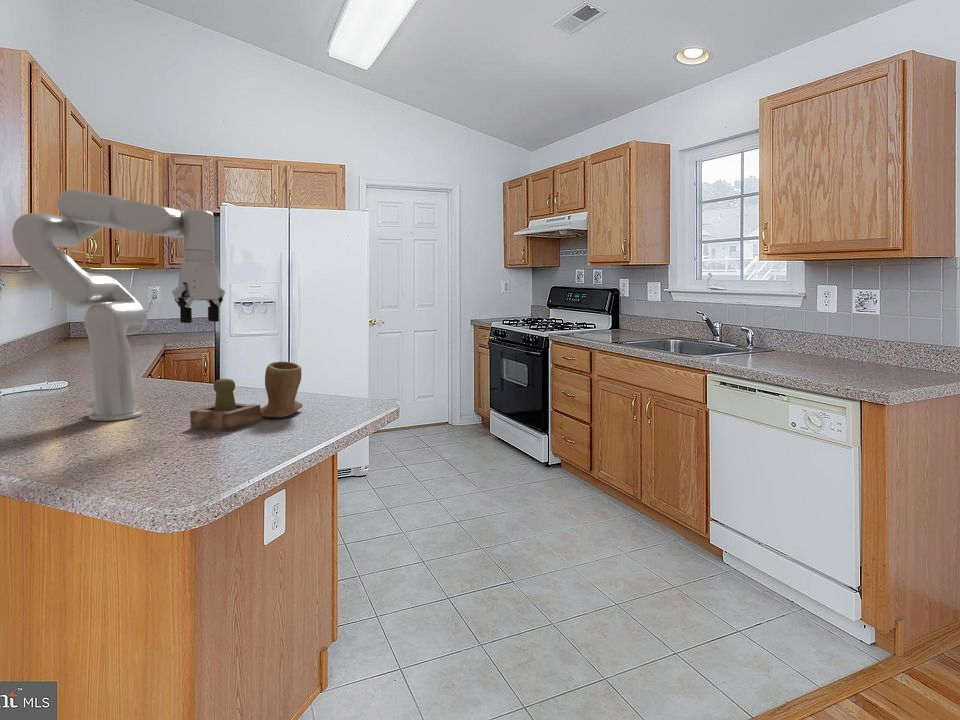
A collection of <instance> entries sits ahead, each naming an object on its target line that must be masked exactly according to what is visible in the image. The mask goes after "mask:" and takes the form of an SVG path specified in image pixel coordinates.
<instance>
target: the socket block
mask: <svg viewBox="0 0 960 720" xmlns="http://www.w3.org/2000/svg"><path fill="white" fill-rule="evenodd" d="M235 404H236V409H235V410H232V411H215V404H212V405H208V406H204V407H200V408H196V409H193V410H189V415H190V429H194V430H195V429H197V430H207V431H208V430H209V431H219V432H228V433H229V432H233V431H236V430H239V429H243V428H246V427H249V426H252V425H255V424H257V423H261V422H262V416H261V410H260V408H261V404H254V403H253V404H250V403H237V402H235Z"/></svg>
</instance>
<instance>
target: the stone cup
mask: <svg viewBox="0 0 960 720" xmlns="http://www.w3.org/2000/svg"><path fill="white" fill-rule="evenodd" d="M301 381H302V367H301V366H300V365H299V364H298V363H295V362H291V361H283V360H281V361H273V362H271V363H270V364H268V365H267V367H266V369H265V374H264V388H265V389H266V394H267V400H268V403H267V404H266V405H265V406H262V407H260V410H261V418H262V417H263V418H286V417H288V416H291V415H292V414H294V413H296V412H298V411H299V410H300V409H302V408H303V404H302V403H301V402H299V401H297V400H296V397H297V394H298V390H299V388H300V384H301Z"/></svg>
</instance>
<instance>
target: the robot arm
mask: <svg viewBox="0 0 960 720" xmlns="http://www.w3.org/2000/svg"><path fill="white" fill-rule="evenodd" d="M56 205H57V209H58V211H59V213H60V214H61V215H62V216H61V215H54V214H49V213H42V212H31V213H25V214H23V215H21V216H19V217H17V219H16V220H15V221H14V222H13V226H12V241H13V243H14V247H15V249H16V252H17V253H18V254H19V255H20V258H22V259H23V261H25V263H27V264H28V265H29V266H30V267H31V268H32V269H33V270H35V271H36V272H37V273H38V275H40V276H41V277H42V278H43V280H45V281H46V283H47V284H49V286H51V288H53V289H54V291H55V292H57V293H58V295H59V296H60V297H62V298H63V299H64V301H65V302H67V303H68V304H69V306H72V307H74V308H78V309H87V310H86V312H85V314H84V319H83V321H84V327H85V331H86V334H87V338H88V342H89V348H90V359H91V368H92V383H93V396H94V397H93V398H94V400H92V401H91V402H90V403H87V404H86V408H87V409H92V413H89V414H88V419H89V420H90V421H97V422H107V421H108V422H110V421H120V420H121V421H122V420H129V419H133V418H137V417H140V416H141V415H143V411H142V409H140V408H137V407H136V400H135V399H136V398H135V386H134V385H135V382H134V370H133V369H134V368H133V356H132V349H131V345H130V342H129V341H128V338H127V336H130V335H135V334H138V333H140V332H142V331H143V330H145V328H146V327H147V324H148V315H147V312H146V309H144V307H143V306H142V304H141V303H140V302H139V301H138V300H137V299H136V298H135V297H134V296H133V295H132V294H131V293H130V292H129V291H128V290H127V289H126V288H125V287H123V285H122V284H121V283H120V282H118V280H116V279H115V278H113V277H112V276H109V275H107V274H103V273H90V272H87V271H86V270H84V269H83V268H81V267H80V266H79V265H78V264H77V263H76V262H75V261H74V260H73V258H71V257H70V256H69V255H68V254H66V253H64V252H63V251H62V250H60V249H58V248H73V247H76V246H78V245H80V244H81V243H83V242H85V241H86V240H88V239H89V238H90V237H91V236H93V235H94V234H96V233H97V232H99V231H100V230H102V229H103V228H106V229H108V228H109V229H113V230H117V231H120V230H126V231H131V232H136V233H143V234H148V235H152V236H160V237H166V238H172V239H182V240H183V261H181V262H180V263H181V264H180V267H179V273H178V286H177V287H175V288H173V290H172V291H171V293H172V295H173V297H174V301H175V302H176V304H177V306H178V308H180V309H179V313H180V315H179V316H180V323H182V324H191V323H192V322H193V319H192V318H193V317H192V315H193V310H192V307H191V305H192V304H193V302H194V301H206V302H207V303H208V305H209V306H207V320H208V321H209V322H219V321H220V307H221V304H222V302H223V300H224V299H223V298H224V297H225V293H226V291H225V290H224V289H222V288H221V287H220V286H219V276H218V270H217V265H216V254H215V253H216V249H215V248H216V247H215V246H216V245H215V237H216V235H215V233H216V232H215V215H214V214H213V213H212V212H211V211H208V210H204V209H203V210H202V209H187V210H180V209H176V208H173V207H171V208H170V207H168V206H162V205H158V204H153V203H147V202H140V201H135V200H130V199H129V200H128V199H126V198H124V197H121V196H115V195H108V194H104V193H98V192H92V191H86V190H82V189H69V190H66V191H64V192H62V193H61V194H60V195H59V196H58V199H57V203H56Z"/></svg>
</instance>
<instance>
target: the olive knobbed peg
mask: <svg viewBox="0 0 960 720" xmlns="http://www.w3.org/2000/svg"><path fill="white" fill-rule="evenodd" d="M212 386H213V390H214V392H215V401H214V402H215V403H214V405H215V411H232V410H235V409H236V404H235V403H236V400H235V393H234V391H235V389H236V383H235V380H233V379H231V378H220V379H217V380H215V381H214V382H213V385H212Z"/></svg>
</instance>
